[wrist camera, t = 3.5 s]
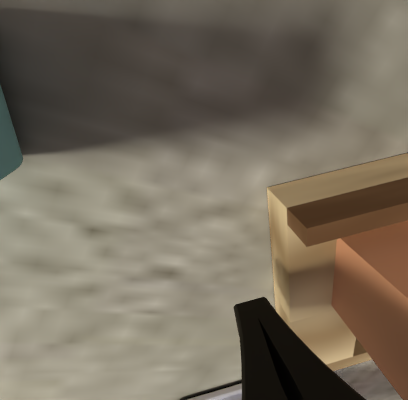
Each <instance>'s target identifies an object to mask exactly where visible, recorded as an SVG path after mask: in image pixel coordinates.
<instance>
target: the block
mask: <svg viewBox="0 0 408 400" xmlns="http://www.w3.org/2000/svg"><path fill="white" fill-rule="evenodd" d="M331 305H332V307H333V308H334V309H335V311H336V312H337V313H338V315H339V316H340V317H341V319H342V320H343V321H344V323H345V324H346V325H347V326H348V328H349V329H350V330H351V332H352V333H353V334H354V336H355V337H356V338H357V340H358V341H359V342H360V344H361V345H362V346H363V348H364V349H365V350H366V352H367V353H368V354H369V356H370V357H371V358H372V359H373V361H374V362H375V363H376V365H377V366H378V367H379V369H380V370H381V371H382V373H383V374H384V375H385V377H386V378H387V379H388V381H389V382H390V383H391V385H392V386H393V387H394V388H395V390H396V391H397V392H398V394H399V395H400V396H401V398H402V399H403V400H408V220H407V221H403V222H400V223H396V224H392V225H388V226H385V227H381V228H377V229H373V230H369V231H366V232H362V233H358V234H354V235H351V236H347V237H343V238H339V239H337V243H336V256H335V268H334V280H333V292H332V304H331Z"/></svg>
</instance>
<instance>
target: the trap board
mask: <svg viewBox="0 0 408 400" xmlns="http://www.w3.org/2000/svg"><path fill="white" fill-rule="evenodd" d="M267 196H268V210H269V224H270V238H271V251H272V265H273V279H274V293H275V307H276V312H277V313H278V314H279V316H280V317H281V318H282V319H283V320H284V321H285V323H286V324H287V325H288V326H289V327H290V328H291V329H292V331H293V332H294V333H295V334H296V335H297V336H298V337H299V338H300V339H301V340H302V341H303V342H304V343H305V344H306V345H307V346H308V347H309V348H310V350H311V351H312V352H313V353H314V354H315V355H317V356H318V357H319V358H320V359H321V360H322V361H323V362H324V363H325V364H326V365H327V366H328V367H329V368H330V369H331V370H332V371H335V370H339V369H342V368H345V367H349V366H352V365H355V364H359V363H362V362H365V361H368V360H372V358H371V357H370V356H369V354H368V353H367V352H366V350H365V349H364V348H363V346H362V345H361V344H360V342H359V341H358V340H357V338H356V337H355V336H354V334H353V333H352V332H351V330H350V329H349V328H348V326H347V325H346V324H345V323H344V321H343V320H342V319H341V317H340V316H339V315H338V313H337V312H336V311H335V309H334V308H333V307H332V305H331V304H332V292H333V280H334V268H335V256H336V243H337V239H339V238H343V237H347V236H351V235H354V234H358V233H362V232H366V231H369V230H373V229H377V228H381V227H385V226H388V225H392V224H396V223H400V222H403V221H407V220H408V153H406V154H402V155H398V156H394V157H389V158H385V159H381V160H377V161H373V162H369V163H365V164H361V165H357V166H353V167H349V168H345V169H341V170H336V171H332V172H328V173H324V174H320V175H316V176H312V177H308V178H304V179H300V180H296V181H292V182H288V183H283V184H279V185H275V186H271V187H267Z"/></svg>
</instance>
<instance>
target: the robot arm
mask: <svg viewBox="0 0 408 400" xmlns="http://www.w3.org/2000/svg"><path fill="white" fill-rule="evenodd" d="M234 312H235V317H236V322H237V327H238V332H239V336H240V346H241V362H242V383H241V384H238V385H234V386H231V387H227V388H224V389H221V390H217V391H214V392H211V393H207V394H204V395H200V396H197V397H194V398H190V399H187V400H366V399H364V398H363V397H362V396H361V395H360V394H358V393H357V392H356V391H355V390H354V389H352V388H351V387H350V386H349V385H348V384H347V383H346V382H344V381H343V380H342V379H341V378H340V377H339V376H338V375H337V374H335V373H334V372H333V371H332V370H331V369H330V368H329V367H328V366H327V365H326V364H325V363H324V362H323V361H322V360H321V359H320V358H319V357H318V356H317V355H315V354H314V353H313V352H312V351H311V350H310V348H309V347H308V346H307V345H306V344H305V343H304V342H303V341H302V340H301V339H300V338H299V337H298V336H297V335H296V334H295V333H294V332H293V331H292V329H291V328H290V327H289V326H288V325H287V324H286V323H285V321H284V320H283V319H282V318H281V317H280V316H279V314H278V313H277V312H276V311H275V309H274V308H273V307H272V306H271V304H270V303H269V301H268V300H267V299H266V298H265V297H261V298H258V299H254V300H251V301H247V302H243V303H240V304H236V305H235V306H234Z"/></svg>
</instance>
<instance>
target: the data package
mask: <svg viewBox="0 0 408 400" xmlns="http://www.w3.org/2000/svg"><path fill="white" fill-rule="evenodd" d="M22 160H23V157H22V153H21V150H20V147H19V143H18V140H17V137H16V133H15V130H14V127H13V124H12V120H11V117H10V114H9V111H8V107H7V104H6V101H5V97H4V94H3V91H2V88H1V84H0V180H1V179H3V178H4V177H5V176H7V175H8V174H10V173H11V172H13V171H14V170H16V169H17V168H18V167H19V166H20V165H21V163H22Z"/></svg>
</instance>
